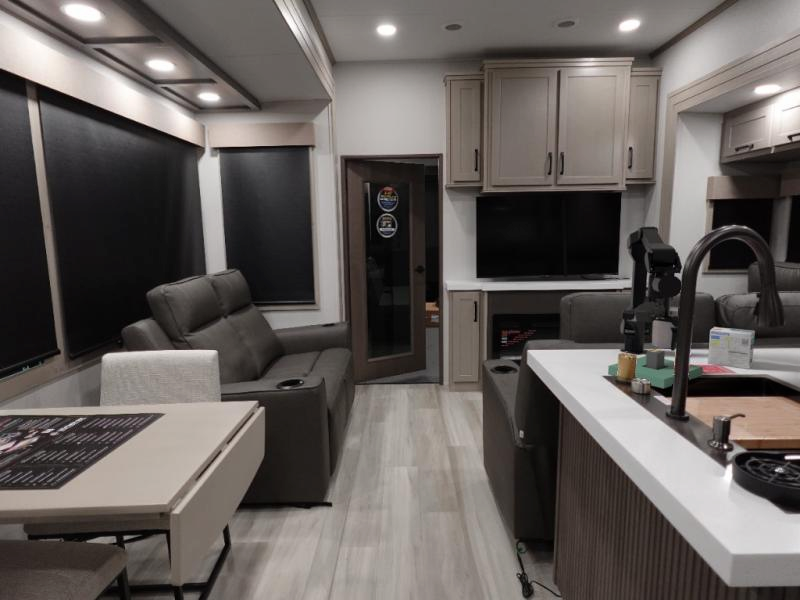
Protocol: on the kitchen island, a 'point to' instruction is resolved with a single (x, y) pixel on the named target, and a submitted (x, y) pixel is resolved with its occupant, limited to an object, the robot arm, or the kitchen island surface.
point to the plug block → (655, 359)
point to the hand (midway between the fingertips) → (656, 347)
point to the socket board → (657, 372)
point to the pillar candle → (663, 331)
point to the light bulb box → (731, 347)
